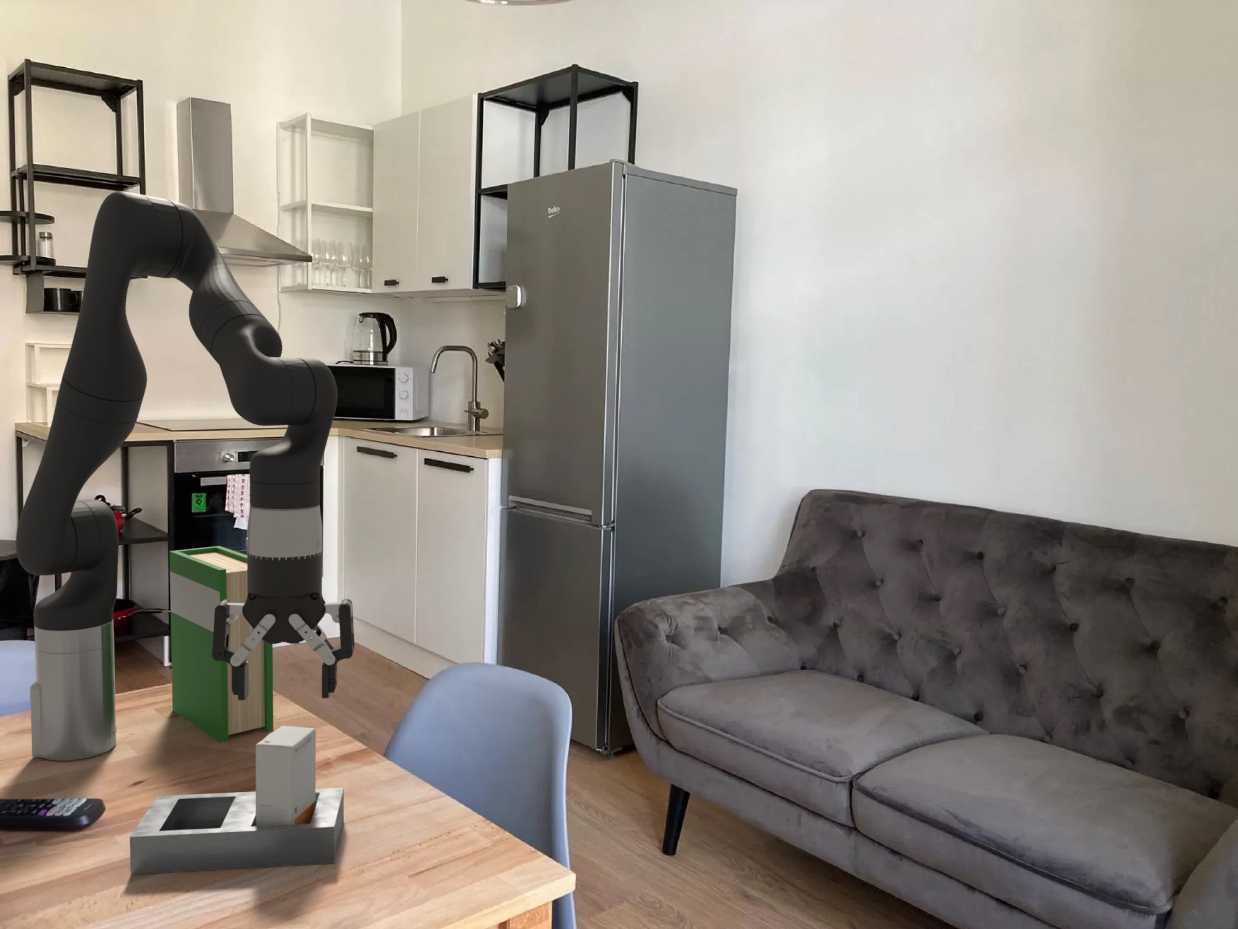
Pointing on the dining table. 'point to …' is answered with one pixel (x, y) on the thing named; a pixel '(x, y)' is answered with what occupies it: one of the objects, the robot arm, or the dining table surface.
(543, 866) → the dining table surface
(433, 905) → the dining table surface
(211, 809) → the holder
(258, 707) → the hardback book
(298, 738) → the skincare box
